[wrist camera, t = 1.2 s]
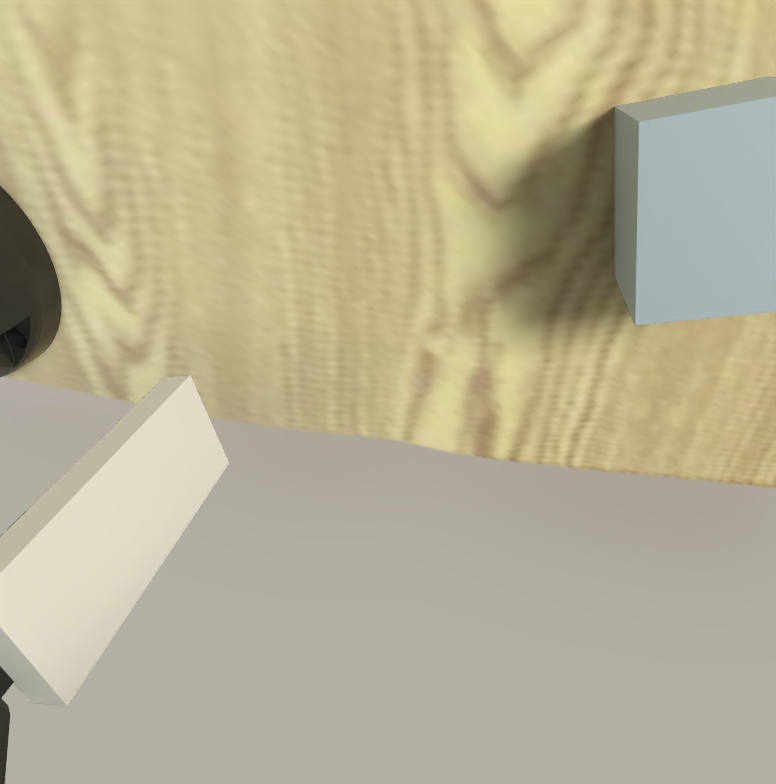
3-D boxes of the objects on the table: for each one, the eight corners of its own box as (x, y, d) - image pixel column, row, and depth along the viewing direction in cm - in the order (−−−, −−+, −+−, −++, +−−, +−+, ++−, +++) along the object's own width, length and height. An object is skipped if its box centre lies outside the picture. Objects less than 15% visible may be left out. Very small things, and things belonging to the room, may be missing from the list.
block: (614, 276, 29) (635, 325, 24) (614, 106, 25) (639, 121, 20) (745, 261, 27) (797, 309, 22) (767, 76, 23) (836, 85, 18)
